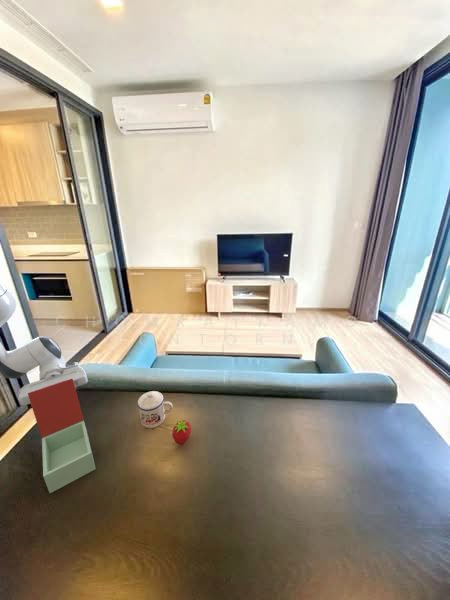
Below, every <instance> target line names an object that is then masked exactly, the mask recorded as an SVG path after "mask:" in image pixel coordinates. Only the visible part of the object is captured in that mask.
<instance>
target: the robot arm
mask: <svg viewBox="0 0 450 600" xmlns="http://www.w3.org/2000/svg"><path fill="white" fill-rule="evenodd" d="M16 309H17V301H16V299H15V297H14V296H13V294H12V292H10V290H9V289H8V288H7V287H6V286H5V285H4V284H3V283H2V281H0V328H2V327H3V326H4V325H5V324H6V323H7V322H8V321H9V320H10V319H11V318H12V316H13V315H14V313H15V311H16ZM37 367H38V371H39V374H38V375H39V380H36V381H33V382H30V383H27V384H24V385H23V386H22V387H21V388H19V389H18V402H19V403H20V405H21V406H27V405H31V403H30V399H29V396H28V392H31V391H34V390H37V389H40V388H43V387H46V386H49V385H52V384H55V383H58V382H61V381H64V380H67V379H70V378H73V382H74V386H75V388H78V387H81V386H84V385H86V384H87V383H88V382H89V378H88V376H87V373H86V370H85V369H84V368H83V367H82V366H81V365H80V364H79V362H78V361H77V362H76V361H75V362H70V363H69V362H68V363H66V359H65V357H64V355H63V354H62V349H61V347H60V346H59V344H58V343H57V341H55V340H54V339H53V338H52V337H49V336H45V335H39V336H37V337H36V338H33V339H31V340H29V341H27V342H26V343H24V344H22V345H20V346H19V347H16V348H14V349H12V350H6V348H5V347H4V345H3V344H2V341H0V375H1V376H2V377H3V378H5V379H11V380H12V379H14V380H15V379H20V378H21V377H23V376H24V375H26V374H27V373H29V372H30V371H31V370H33V369H36V368H37Z"/></svg>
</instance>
